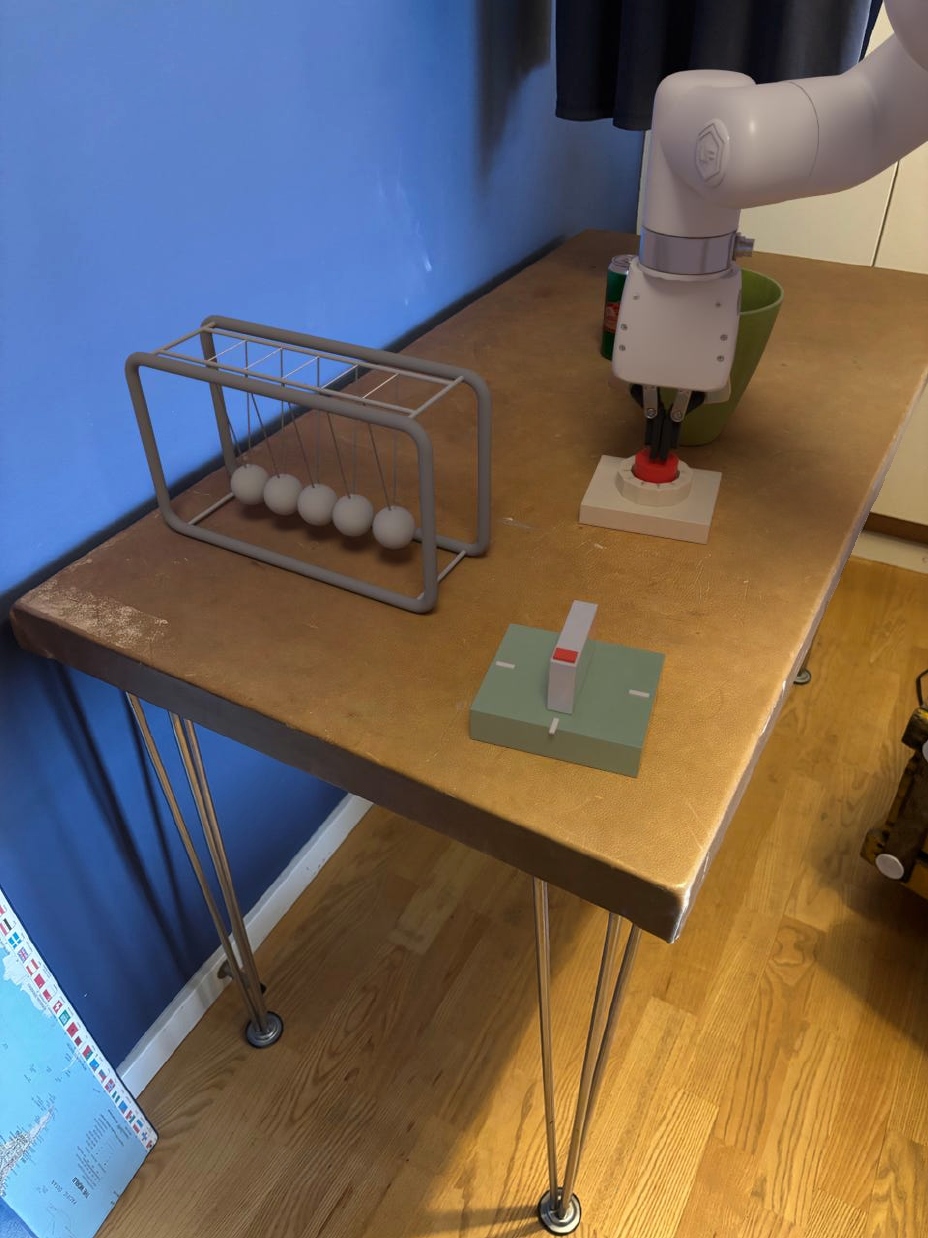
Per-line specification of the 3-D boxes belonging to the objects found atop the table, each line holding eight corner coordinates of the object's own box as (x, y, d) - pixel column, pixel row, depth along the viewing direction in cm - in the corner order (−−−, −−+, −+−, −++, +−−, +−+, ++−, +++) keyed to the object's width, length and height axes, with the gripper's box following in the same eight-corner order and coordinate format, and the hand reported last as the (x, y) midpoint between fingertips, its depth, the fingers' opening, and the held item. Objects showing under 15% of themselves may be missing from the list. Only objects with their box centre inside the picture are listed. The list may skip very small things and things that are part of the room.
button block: (718, 491, 91) (725, 455, 89) (706, 545, 84) (713, 507, 81) (600, 473, 94) (603, 438, 92) (578, 523, 87) (581, 486, 84)
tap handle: (570, 646, 68) (574, 596, 65) (593, 651, 68) (599, 601, 65) (546, 709, 63) (549, 657, 60) (571, 715, 62) (576, 663, 59)
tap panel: (662, 678, 70) (667, 646, 68) (635, 785, 61) (640, 752, 59) (511, 647, 73) (512, 616, 71) (467, 744, 64) (466, 712, 63)
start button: (679, 467, 88) (681, 451, 87) (672, 488, 85) (675, 471, 84) (637, 461, 89) (639, 445, 88) (630, 481, 86) (632, 465, 85)
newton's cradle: (492, 558, 82) (494, 371, 71) (434, 622, 75) (426, 426, 64) (233, 480, 94) (200, 309, 83) (162, 529, 87) (115, 349, 76)
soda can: (594, 358, 117) (602, 262, 110) (608, 344, 121) (617, 250, 113) (632, 365, 115) (642, 268, 108) (645, 351, 119) (656, 256, 111)
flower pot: (757, 470, 94) (790, 317, 84) (612, 457, 97) (628, 308, 87) (751, 407, 106) (779, 266, 96) (622, 397, 108) (636, 259, 98)
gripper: (785, 243, 74) (746, 446, 86) (604, 230, 78) (590, 425, 90) (779, 270, 69) (738, 484, 80) (585, 255, 73) (572, 460, 84)
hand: (660, 452), depth 85 cm, fingers closed
